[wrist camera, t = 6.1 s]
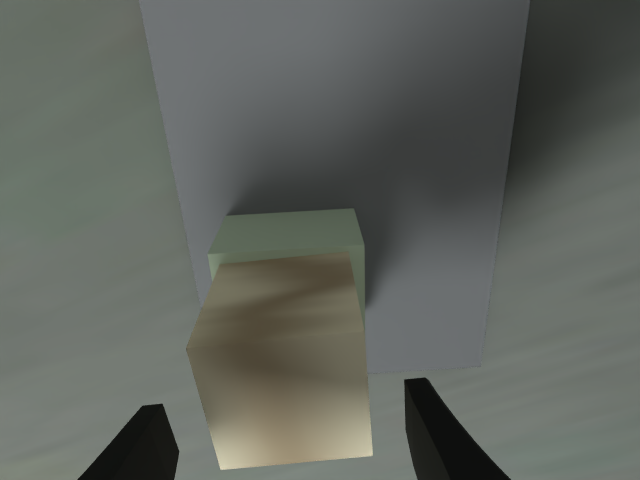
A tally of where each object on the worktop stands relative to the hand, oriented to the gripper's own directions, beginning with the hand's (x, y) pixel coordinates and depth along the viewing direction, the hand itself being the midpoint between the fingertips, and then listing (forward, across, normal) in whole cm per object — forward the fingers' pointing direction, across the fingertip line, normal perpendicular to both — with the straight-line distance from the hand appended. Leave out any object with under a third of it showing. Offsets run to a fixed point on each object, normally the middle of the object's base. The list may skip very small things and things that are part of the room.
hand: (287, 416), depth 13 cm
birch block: (+5, 0, 0) cm, 5 cm away
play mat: (+10, -3, -5) cm, 11 cm away
